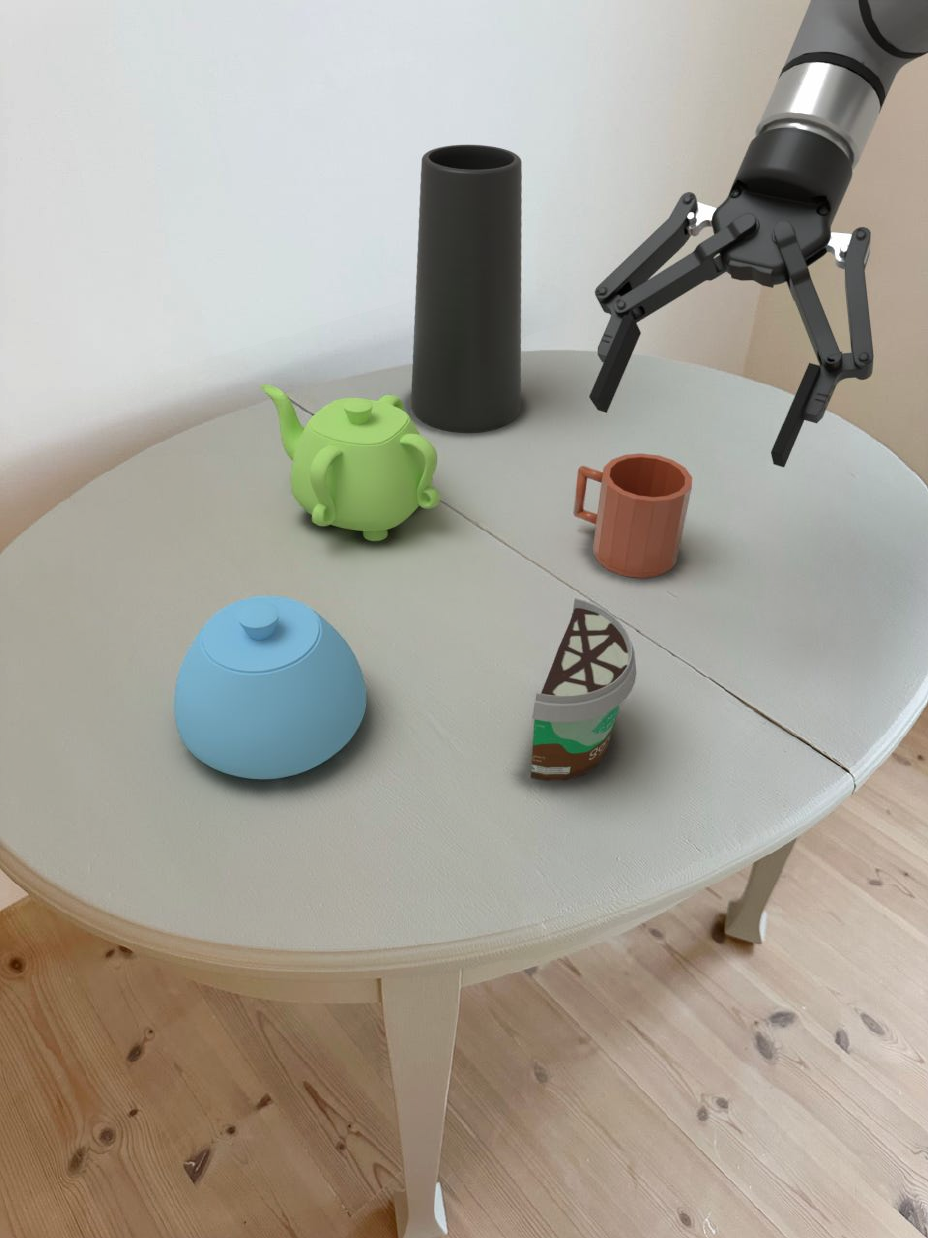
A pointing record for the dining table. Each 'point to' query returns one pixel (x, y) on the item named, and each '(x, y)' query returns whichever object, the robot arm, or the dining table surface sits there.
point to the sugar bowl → (268, 690)
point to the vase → (468, 289)
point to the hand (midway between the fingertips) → (683, 432)
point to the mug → (637, 513)
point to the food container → (582, 694)
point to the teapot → (358, 463)
